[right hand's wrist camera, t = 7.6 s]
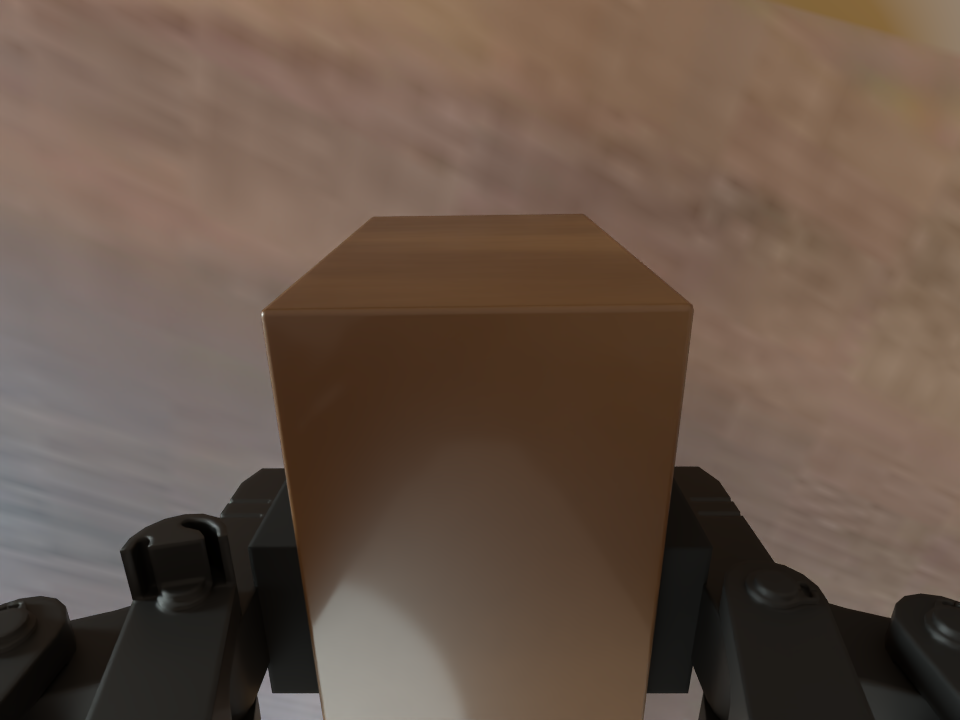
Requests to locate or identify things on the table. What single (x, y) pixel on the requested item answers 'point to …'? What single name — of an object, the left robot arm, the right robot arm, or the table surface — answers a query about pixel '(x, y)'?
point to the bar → (480, 465)
